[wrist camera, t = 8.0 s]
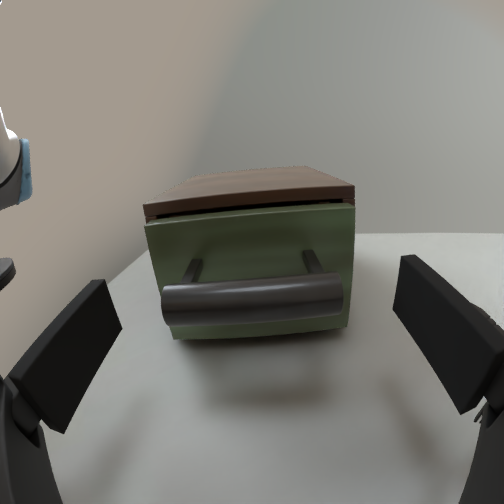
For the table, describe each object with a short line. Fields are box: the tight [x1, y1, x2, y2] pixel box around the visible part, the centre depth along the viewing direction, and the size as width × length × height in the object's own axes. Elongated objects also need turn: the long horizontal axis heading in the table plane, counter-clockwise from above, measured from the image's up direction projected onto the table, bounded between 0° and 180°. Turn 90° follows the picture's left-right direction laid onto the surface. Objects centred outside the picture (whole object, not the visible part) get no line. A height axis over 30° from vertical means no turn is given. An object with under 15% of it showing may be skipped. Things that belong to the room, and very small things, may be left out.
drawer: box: [144, 200, 355, 339], centre depth 20 cm, size 20×11×8 cm, turn 0°
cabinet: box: [143, 166, 355, 224], centre depth 24 cm, size 16×13×10 cm
